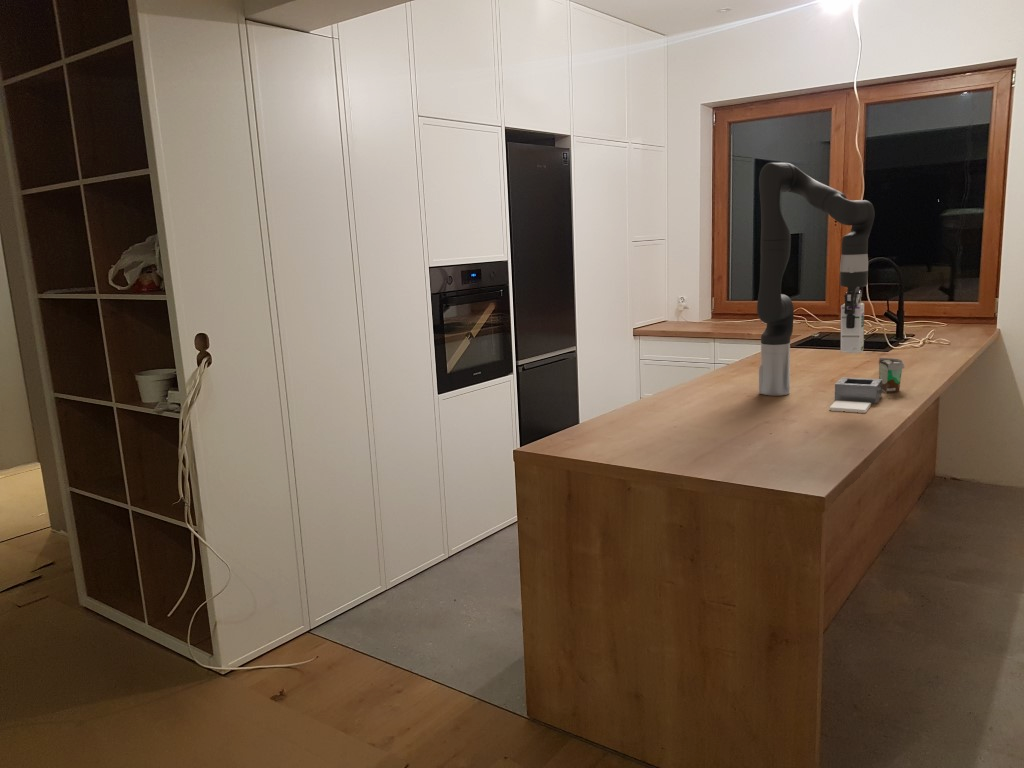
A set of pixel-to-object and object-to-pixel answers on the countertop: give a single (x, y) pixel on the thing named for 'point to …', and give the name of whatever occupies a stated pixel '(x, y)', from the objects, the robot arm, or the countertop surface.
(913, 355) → the countertop surface
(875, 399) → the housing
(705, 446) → the countertop surface
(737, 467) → the countertop surface
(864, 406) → the pad
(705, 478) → the countertop surface
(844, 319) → the syrup box
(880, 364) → the food container
